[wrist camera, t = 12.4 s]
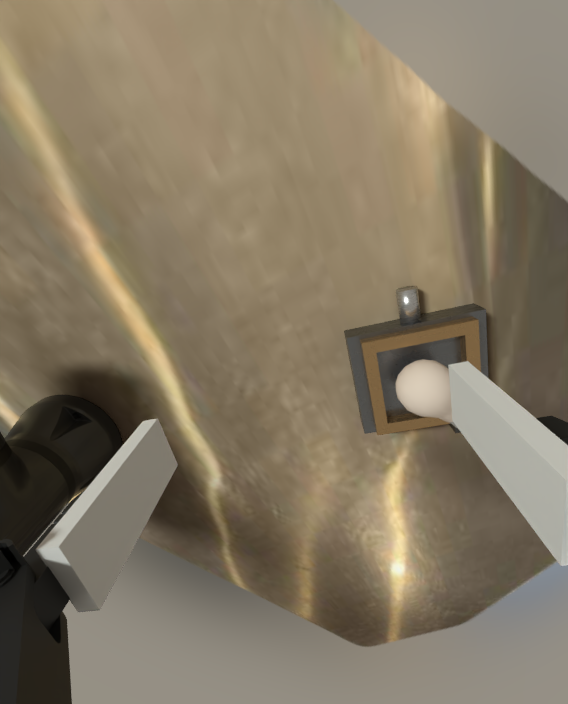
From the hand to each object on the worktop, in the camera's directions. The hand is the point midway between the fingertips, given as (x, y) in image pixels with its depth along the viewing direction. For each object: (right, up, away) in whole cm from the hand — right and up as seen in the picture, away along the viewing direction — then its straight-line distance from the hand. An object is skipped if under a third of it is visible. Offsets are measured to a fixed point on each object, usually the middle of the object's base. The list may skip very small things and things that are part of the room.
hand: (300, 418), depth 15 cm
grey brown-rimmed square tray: (+16, +1, +29) cm, 34 cm away
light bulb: (+18, -2, +26) cm, 32 cm away
